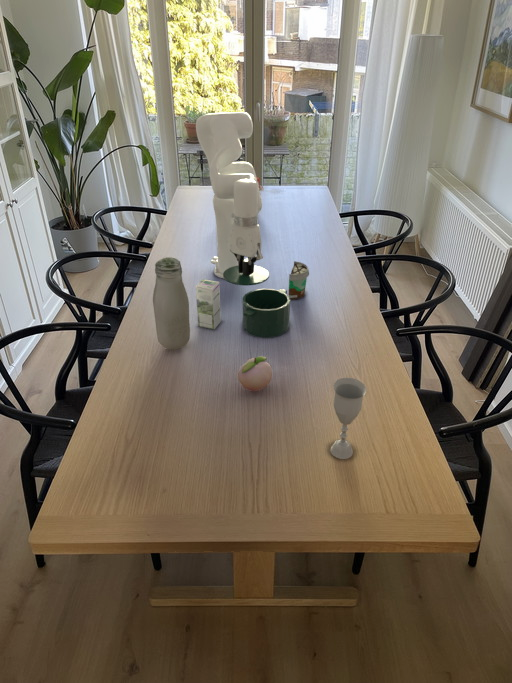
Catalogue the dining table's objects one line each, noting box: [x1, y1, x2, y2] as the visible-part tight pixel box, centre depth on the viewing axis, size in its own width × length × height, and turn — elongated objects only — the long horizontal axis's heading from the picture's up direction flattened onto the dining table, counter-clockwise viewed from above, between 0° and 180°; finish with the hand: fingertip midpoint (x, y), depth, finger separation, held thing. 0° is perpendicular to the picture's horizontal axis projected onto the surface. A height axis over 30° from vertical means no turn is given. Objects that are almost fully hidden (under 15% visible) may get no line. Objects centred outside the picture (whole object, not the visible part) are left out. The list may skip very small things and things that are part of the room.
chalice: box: [330, 377, 367, 460], centre depth 112 cm, size 7×7×18 cm
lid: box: [222, 258, 270, 287], centre depth 174 cm, size 16×16×6 cm
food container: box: [288, 260, 310, 301], centre depth 181 cm, size 12×6×10 cm, turn 168°
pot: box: [242, 288, 291, 339], centre depth 162 cm, size 15×20×10 cm
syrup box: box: [195, 279, 222, 330], centre depth 161 cm, size 6×6×14 cm
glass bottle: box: [152, 256, 191, 351], centre depth 147 cm, size 10×10×28 cm
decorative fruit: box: [237, 355, 273, 392], centre depth 134 cm, size 9×8×10 cm
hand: (246, 272), depth 174 cm, fingers closed on lid, 2 cm apart
